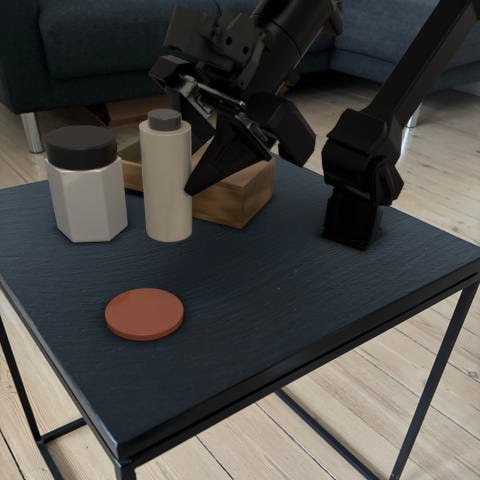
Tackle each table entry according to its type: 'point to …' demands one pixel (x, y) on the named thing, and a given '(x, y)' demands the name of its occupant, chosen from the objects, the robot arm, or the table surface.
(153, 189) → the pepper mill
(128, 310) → the disc
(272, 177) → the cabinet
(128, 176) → the drawer
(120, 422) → the table surface
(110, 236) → the jar
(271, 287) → the table surface
